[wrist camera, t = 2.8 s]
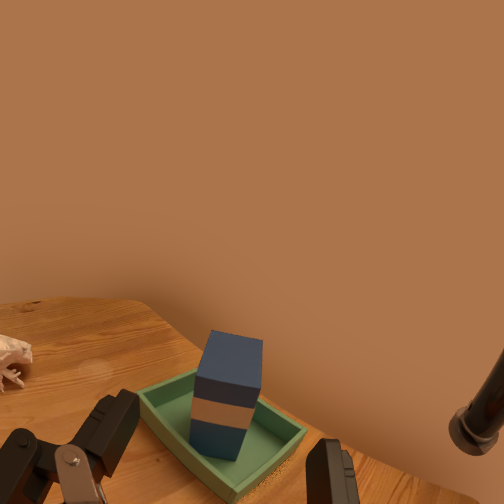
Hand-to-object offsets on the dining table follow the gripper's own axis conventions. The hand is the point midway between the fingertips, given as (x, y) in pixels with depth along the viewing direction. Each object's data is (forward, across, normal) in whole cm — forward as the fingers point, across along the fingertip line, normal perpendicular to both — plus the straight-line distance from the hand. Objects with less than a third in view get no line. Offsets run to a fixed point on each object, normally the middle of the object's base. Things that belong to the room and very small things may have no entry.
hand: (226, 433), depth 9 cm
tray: (+11, 0, +17) cm, 21 cm away
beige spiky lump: (+6, +29, +19) cm, 35 cm away
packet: (+11, 0, +17) cm, 20 cm away
